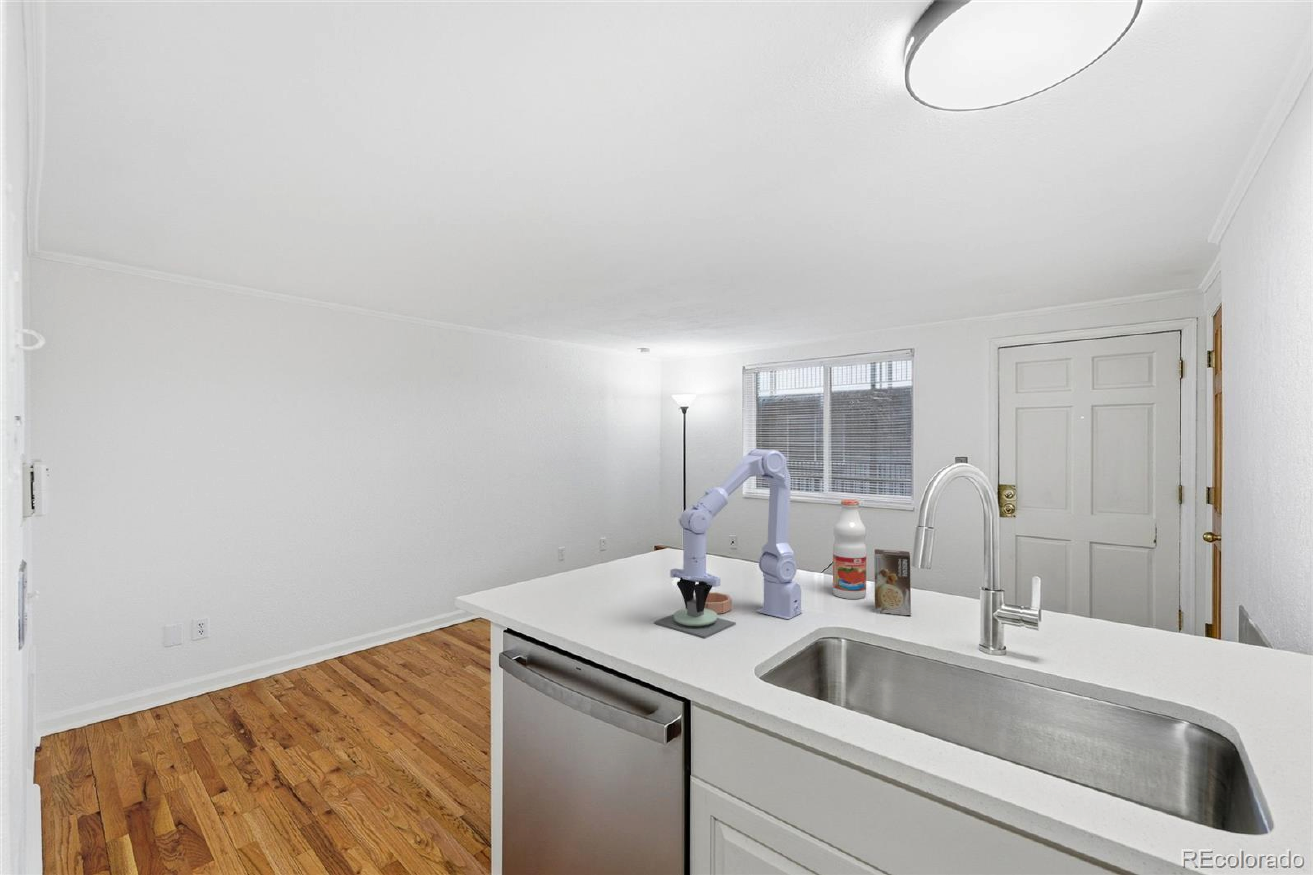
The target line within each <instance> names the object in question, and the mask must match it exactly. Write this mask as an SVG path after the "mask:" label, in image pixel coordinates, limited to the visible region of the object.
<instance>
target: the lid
mask: <svg viewBox="0 0 1313 875" xmlns="http://www.w3.org/2000/svg"><path fill="white" fill-rule="evenodd" d="M673 614H674V620H675V621H676V622H678V623H680V624H683V625H689V626H703V625H708V624H712V623H714V622H715V621H717V618H718V614H717V613H716V612H715V611H713V610H710V609H705V608H704V611H702V612H697V608H696V599H692V600H690V601H687V609H686V608H683V609H679V610H677V611H676V612H674V613H673Z"/></svg>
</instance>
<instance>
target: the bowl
mask: <svg viewBox="0 0 1313 875" xmlns="http://www.w3.org/2000/svg"><path fill="white" fill-rule="evenodd" d="M694 599H696V596H695V595H694ZM732 601H733V600H732V597H731V596H730V595H729V594H725V593H722V592H721V593H720V592H717V591H716V592H709V594H708V597H707V599H706V603H705V607H704V608H705V609H710V610H713V611H715V612H716V613H717V615H720V614H724V613H727V612H730V611H731V610H732V609H733V608H732V607H733V605H732V604H733V602H732Z"/></svg>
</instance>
